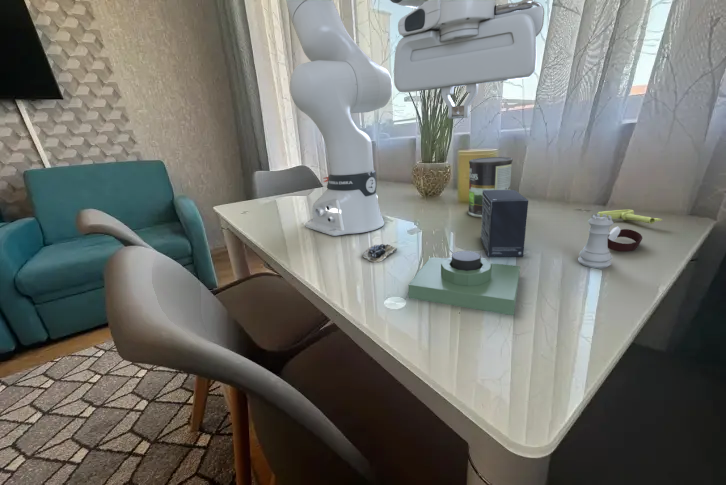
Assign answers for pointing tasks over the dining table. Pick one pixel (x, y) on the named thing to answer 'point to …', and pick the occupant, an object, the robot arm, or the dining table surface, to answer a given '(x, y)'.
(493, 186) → the coffee can
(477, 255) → the spray button
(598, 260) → the rook chess piece
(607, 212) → the yellow-green branched tube
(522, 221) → the small box
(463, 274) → the button box
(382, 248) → the blueberries
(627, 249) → the watch
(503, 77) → the robot arm
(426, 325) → the dining table surface
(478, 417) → the dining table surface
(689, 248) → the dining table surface
